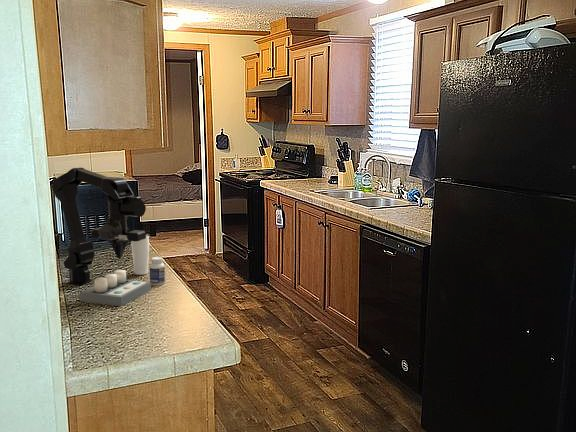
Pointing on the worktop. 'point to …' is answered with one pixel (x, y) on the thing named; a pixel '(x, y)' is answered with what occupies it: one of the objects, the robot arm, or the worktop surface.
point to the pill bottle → (157, 271)
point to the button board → (116, 293)
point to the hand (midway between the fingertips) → (119, 258)
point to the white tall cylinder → (140, 256)
